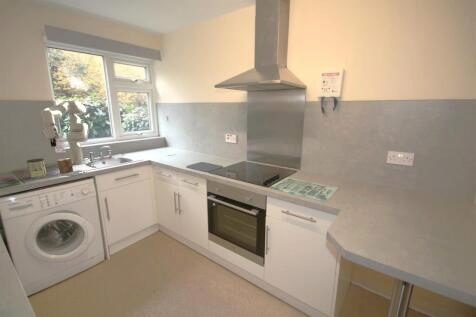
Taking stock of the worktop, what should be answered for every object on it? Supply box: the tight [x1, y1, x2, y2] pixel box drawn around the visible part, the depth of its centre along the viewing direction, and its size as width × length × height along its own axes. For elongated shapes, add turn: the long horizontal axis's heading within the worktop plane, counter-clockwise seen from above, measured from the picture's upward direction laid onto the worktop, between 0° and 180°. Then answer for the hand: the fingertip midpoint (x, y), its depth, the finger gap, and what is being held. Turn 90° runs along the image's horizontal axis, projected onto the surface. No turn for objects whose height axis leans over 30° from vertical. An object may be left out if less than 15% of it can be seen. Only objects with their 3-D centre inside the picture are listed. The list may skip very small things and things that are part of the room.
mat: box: [61, 169, 85, 177], centre depth 188 cm, size 14×14×1 cm
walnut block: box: [57, 157, 74, 175], centre depth 189 cm, size 8×5×12 cm, turn 165°
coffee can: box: [26, 158, 48, 179], centre depth 179 cm, size 10×10×14 cm
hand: (54, 146), depth 188 cm, fingers closed
